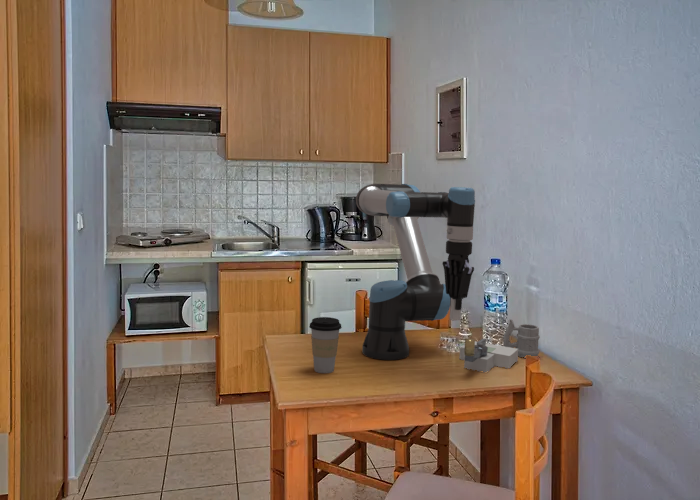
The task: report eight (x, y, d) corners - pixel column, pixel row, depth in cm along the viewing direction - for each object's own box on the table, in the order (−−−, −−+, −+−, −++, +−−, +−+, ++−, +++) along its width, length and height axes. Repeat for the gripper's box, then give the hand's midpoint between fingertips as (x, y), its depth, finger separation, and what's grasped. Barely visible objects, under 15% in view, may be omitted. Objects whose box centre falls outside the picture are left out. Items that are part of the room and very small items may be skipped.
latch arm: (475, 351, 196) (476, 329, 195) (489, 353, 194) (490, 332, 193) (459, 361, 185) (461, 339, 184) (474, 364, 182) (475, 342, 182)
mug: (541, 359, 204) (544, 323, 203) (504, 357, 205) (506, 321, 203) (535, 352, 212) (538, 317, 210) (500, 351, 213) (502, 316, 211)
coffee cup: (316, 377, 180) (317, 325, 178) (302, 367, 188) (304, 317, 186) (345, 373, 184) (347, 322, 182) (331, 363, 193) (333, 315, 191)
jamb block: (464, 368, 193) (465, 344, 192) (471, 362, 199) (473, 339, 198) (486, 372, 189) (488, 348, 188) (493, 366, 195) (495, 342, 194)
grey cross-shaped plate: (459, 359, 202) (460, 340, 201) (469, 352, 210) (470, 334, 209) (509, 368, 194) (510, 349, 193) (517, 361, 202) (518, 342, 201)
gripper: (436, 238, 189) (432, 315, 192) (461, 243, 177) (457, 325, 180) (457, 237, 192) (453, 314, 195) (483, 242, 180) (478, 324, 183)
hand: (455, 319), depth 187 cm, fingers closed
